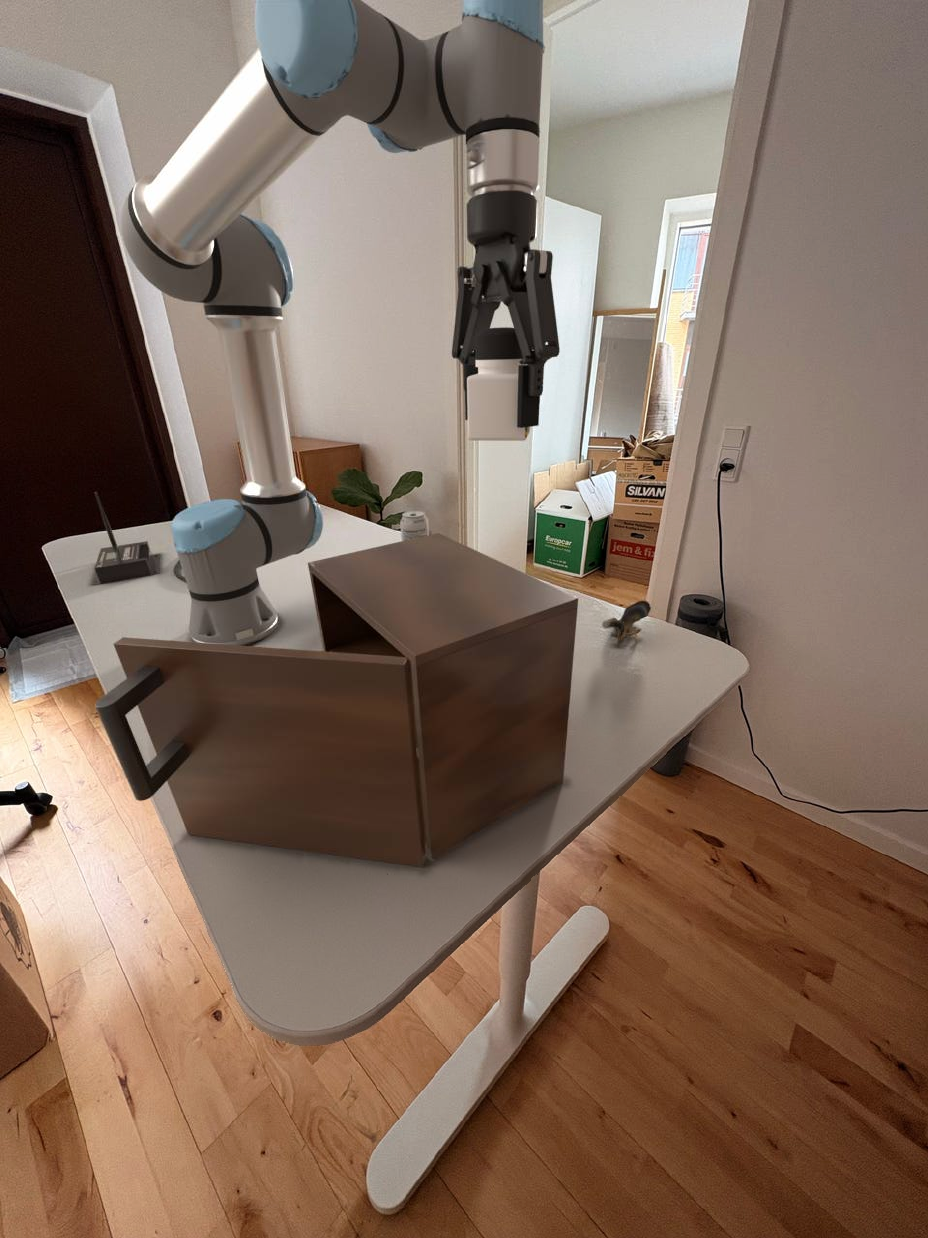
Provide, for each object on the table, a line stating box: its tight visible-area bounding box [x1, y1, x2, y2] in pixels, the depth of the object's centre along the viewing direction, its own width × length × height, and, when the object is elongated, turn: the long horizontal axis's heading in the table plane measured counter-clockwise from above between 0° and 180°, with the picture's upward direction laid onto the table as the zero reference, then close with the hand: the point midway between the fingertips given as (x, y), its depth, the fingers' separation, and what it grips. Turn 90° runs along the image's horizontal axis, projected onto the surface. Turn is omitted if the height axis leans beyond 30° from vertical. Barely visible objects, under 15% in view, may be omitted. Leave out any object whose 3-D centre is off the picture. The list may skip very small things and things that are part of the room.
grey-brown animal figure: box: [601, 600, 652, 648], centre depth 89 cm, size 8×7×9 cm
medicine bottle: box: [467, 326, 531, 442], centre depth 62 cm, size 7×7×12 cm
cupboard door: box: [94, 637, 427, 868], centre depth 46 cm, size 7×26×24 cm, turn 80°
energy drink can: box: [399, 510, 430, 541], centre depth 114 cm, size 6×6×15 cm
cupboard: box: [307, 532, 579, 859], centre depth 60 cm, size 18×26×24 cm
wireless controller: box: [91, 491, 160, 586], centre depth 125 cm, size 20×14×17 cm
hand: (499, 422), depth 64 cm, fingers closed on medicine bottle, 10 cm apart
